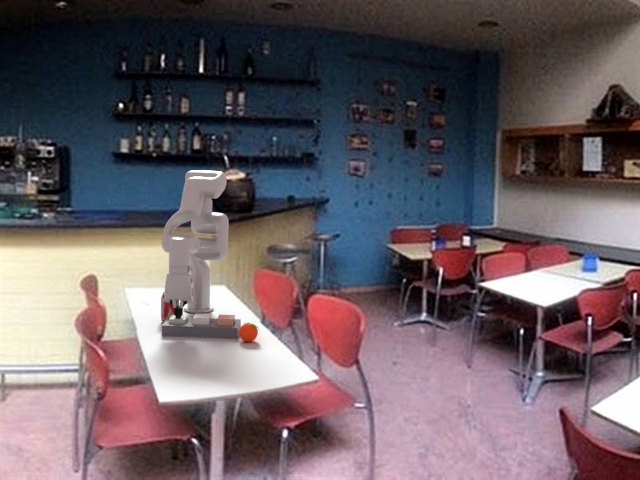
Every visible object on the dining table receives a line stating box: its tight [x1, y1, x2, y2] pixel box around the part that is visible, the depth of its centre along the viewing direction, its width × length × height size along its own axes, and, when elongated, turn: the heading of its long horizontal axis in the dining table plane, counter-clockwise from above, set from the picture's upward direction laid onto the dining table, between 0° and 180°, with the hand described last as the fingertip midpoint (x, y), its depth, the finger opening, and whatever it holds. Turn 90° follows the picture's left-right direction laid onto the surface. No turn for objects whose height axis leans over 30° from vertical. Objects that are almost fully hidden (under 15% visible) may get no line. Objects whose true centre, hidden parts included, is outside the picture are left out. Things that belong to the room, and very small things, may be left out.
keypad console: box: [161, 317, 242, 339], centre depth 240 cm, size 12×28×4 cm, turn 91°
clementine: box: [238, 322, 260, 343], centre depth 232 cm, size 8×7×7 cm
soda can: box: [160, 291, 180, 323], centre depth 252 cm, size 7×7×12 cm
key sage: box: [169, 315, 189, 324], centre depth 240 cm, size 6×6×4 cm
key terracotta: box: [216, 314, 236, 326], centre depth 240 cm, size 6×6×4 cm
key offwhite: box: [192, 313, 212, 325], centre depth 240 cm, size 6×6×4 cm
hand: (178, 317), depth 239 cm, fingers closed
